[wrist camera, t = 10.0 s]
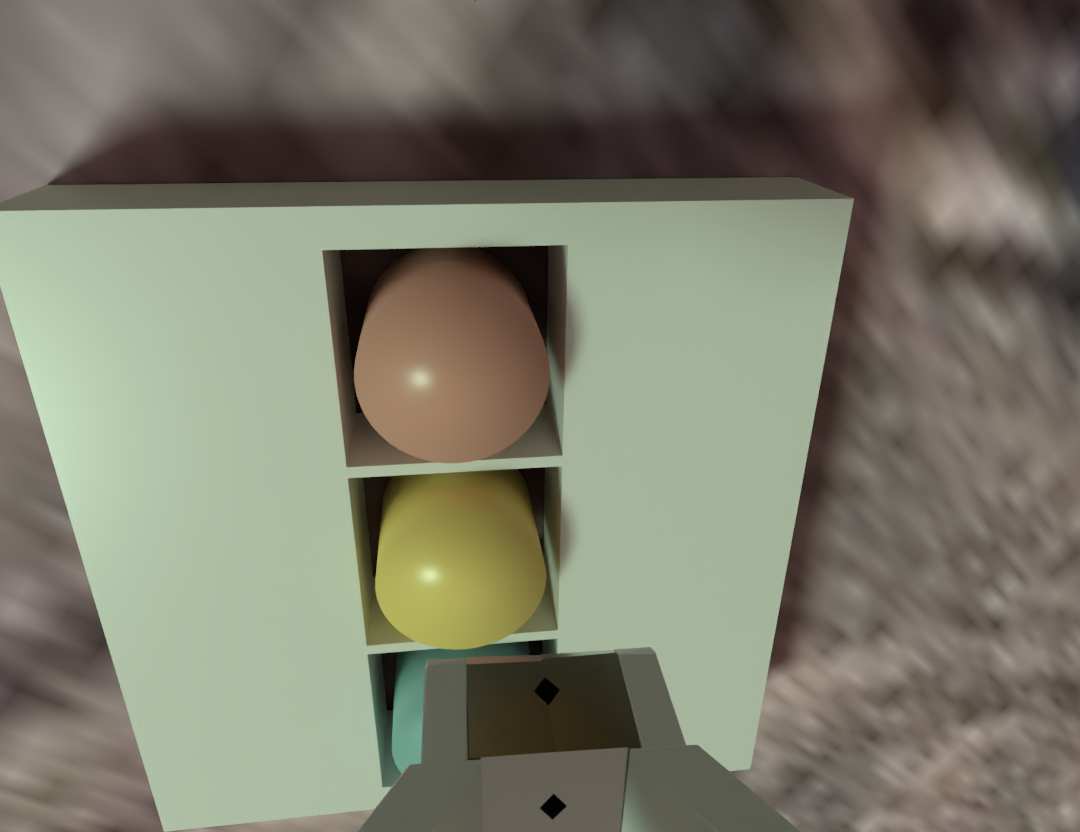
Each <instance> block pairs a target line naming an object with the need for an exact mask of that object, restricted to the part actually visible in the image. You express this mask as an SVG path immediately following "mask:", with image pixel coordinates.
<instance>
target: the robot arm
mask: <svg viewBox="0 0 1080 832" xmlns="http://www.w3.org/2000/svg"><path fill="white" fill-rule="evenodd" d="M466 671H467V688H466ZM357 832H800V831H799V830H798V829H797V828H796V827H794V826H793V825H792V824H791V823H790V822H789V821H787V820H786V819H785V818H784V817H783V816H781V815H780V814H779V813H778V812H777V811H776V810H774V809H773V808H772V807H771V806H770V805H768V804H767V803H766V802H765V801H764V800H763V799H761V798H760V797H759V796H758V795H757V794H755V793H754V792H753V791H752V790H751V789H750V788H748V787H747V786H746V785H745V784H744V783H742V782H741V781H740V780H739V779H738V778H736V777H735V776H734V775H733V774H732V773H731V772H729V771H728V770H727V769H726V768H725V767H723V766H722V765H721V764H720V763H719V762H718V761H716V760H715V759H714V758H713V757H712V756H710V755H709V754H708V753H707V752H706V751H705V750H703V749H702V748H701V747H700V746H699V745H686V743H685V740H684V737H683V734H682V731H681V728H680V725H679V722H678V719H677V716H676V713H675V710H674V707H673V704H672V701H671V698H670V695H669V692H668V689H667V686H666V683H665V680H664V677H663V674H662V671H661V668H660V665H659V662H658V659H657V656H656V653H655V651H654V650H653V649H652V648H651V647H642V648H628V649H614V651H612V650H603V651H588V652H572V653H557V654H542V655H524V656H493V657H466V661H465V658H463V659H427V662H426V666H425V679H424V702H423V726H422V749H421V764H410V765H408V767H407V768H406V769H405V770H404V772H403V773H402V774H401V776H400V777H399V778H398V779H397V781H396V782H395V783H394V785H393V786H392V787H391V788H390V790H389V791H388V792H387V794H386V795H385V796H384V797H383V799H382V800H381V801H380V803H379V804H378V805H377V807H376V808H375V809H374V810H373V812H372V813H371V814H370V816H369V817H368V818H367V819H366V821H365V822H364V823H363V825H362V826H361V827H360V828H359V830H358V831H357Z"/></svg>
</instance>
